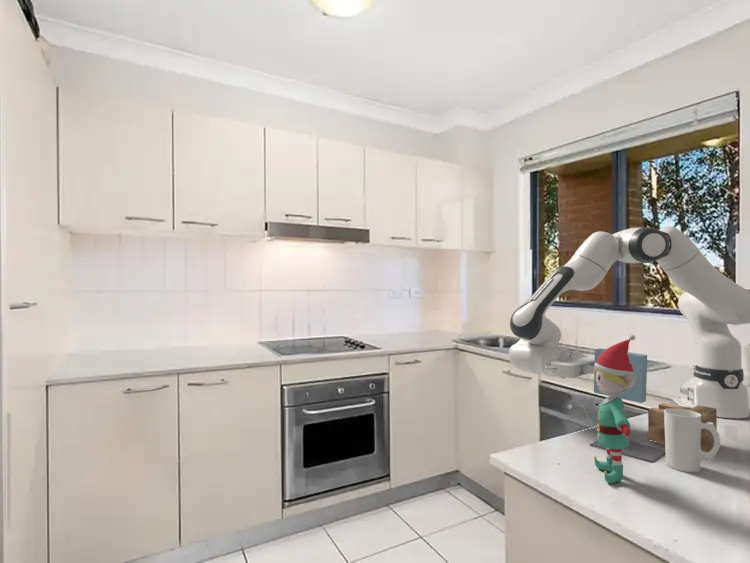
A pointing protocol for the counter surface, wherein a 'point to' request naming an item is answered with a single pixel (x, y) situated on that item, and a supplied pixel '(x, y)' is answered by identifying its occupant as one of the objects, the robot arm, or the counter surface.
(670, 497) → the counter surface
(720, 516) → the counter surface
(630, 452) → the mat
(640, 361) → the blue rectangular block
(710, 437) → the slot box
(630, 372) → the toy
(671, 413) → the mug
